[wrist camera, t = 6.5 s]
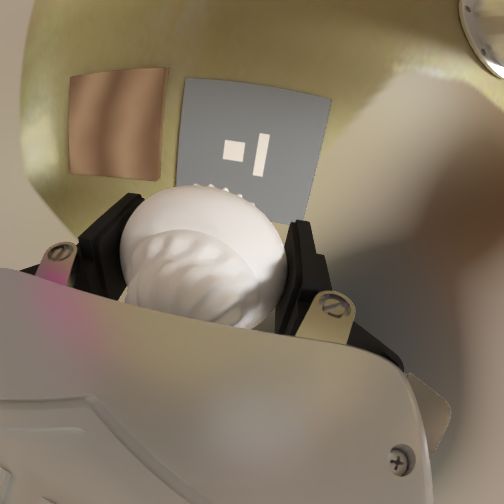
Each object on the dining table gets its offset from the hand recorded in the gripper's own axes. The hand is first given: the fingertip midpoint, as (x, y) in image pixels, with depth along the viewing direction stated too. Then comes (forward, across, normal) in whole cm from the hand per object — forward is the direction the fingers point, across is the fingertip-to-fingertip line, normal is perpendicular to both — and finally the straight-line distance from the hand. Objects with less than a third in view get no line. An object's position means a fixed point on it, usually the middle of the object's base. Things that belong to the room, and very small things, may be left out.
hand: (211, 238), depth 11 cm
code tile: (+17, 0, 0) cm, 17 cm away
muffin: (+1, 0, 0) cm, 1 cm away
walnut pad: (+17, +15, -2) cm, 23 cm away
